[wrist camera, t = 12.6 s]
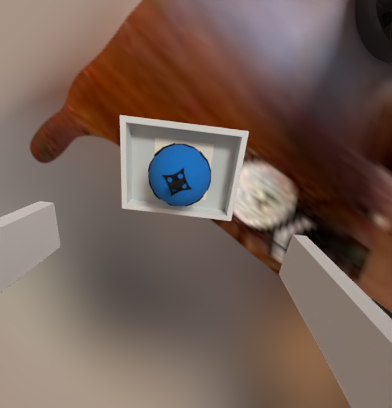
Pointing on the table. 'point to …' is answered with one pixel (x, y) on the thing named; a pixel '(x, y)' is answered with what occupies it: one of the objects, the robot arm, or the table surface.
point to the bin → (180, 134)
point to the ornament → (179, 174)
